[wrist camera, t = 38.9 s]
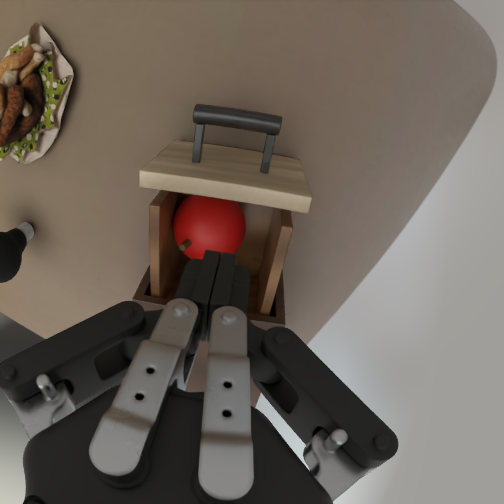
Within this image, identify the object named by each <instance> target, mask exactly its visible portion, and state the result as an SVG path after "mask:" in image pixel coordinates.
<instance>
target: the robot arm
mask: <svg viewBox="0 0 504 504" xmlns="http://www.w3.org/2000/svg"><path fill="white" fill-rule="evenodd" d="M236 260H237V254H232V253H225V252H222V254H221V252H219V251H212V250H205V253H204V256H203V259H202V260H201V259H195V258H193V259H192V260H190V261H189V262H188V263H187V264H186V266H185V269H184V272H183V274H182V277H181V279H180V282H179V285H178V287H177V290H176V293H175V296H174V298H173V300H171V301H169V302H168V303H167V304H166V305H165V307H164V308H163V309H160V310H153V311H144V308H143V307H142V306H141V305H140V304H139V303H136V302H133V301H124V302H121V303H118V304H116V305H114V306H112V307H110V308H108V309H106V310H104V311H102V312H100V313H98V314H96V315H94V316H92V317H90V318H88V319H86V320H84V321H82V322H80V323H78V324H76V325H74V326H72V327H70V328H68V329H66V330H64V331H62V332H60V333H58V334H56V335H54V336H52V337H50V338H48V339H46V340H44V341H42V342H40V343H38V344H36V345H34V346H32V347H30V348H28V349H26V350H24V351H22V352H20V353H18V354H16V355H14V356H12V357H10V358H8V359H6V360H4V361H3V362H1V363H0V388H1V389H2V391H3V392H4V393H5V396H6V397H7V398H8V400H9V401H10V402H11V403H12V405H13V406H14V408H15V410H16V412H17V414H18V416H19V419H20V421H21V423H22V425H23V427H24V429H25V431H26V433H27V435H28V437H29V439H30V441H29V442H28V444H27V446H26V448H25V451H24V455H23V467H24V473H25V480H26V494H25V500H24V502H23V504H333V501H334V500H335V499H336V498H338V497H339V496H340V495H341V494H342V493H344V492H345V491H346V490H347V489H349V488H350V487H351V486H352V485H353V484H354V483H355V482H357V481H358V480H359V479H360V478H362V477H363V476H365V475H367V474H368V473H370V472H371V471H373V470H374V469H375V468H377V467H379V466H380V465H381V464H383V463H384V462H385V461H387V460H389V459H390V458H391V457H393V456H394V455H395V453H396V452H397V449H398V439H397V437H396V435H395V433H394V432H393V431H392V430H391V429H390V428H389V427H388V426H387V425H386V424H385V423H384V422H383V421H382V420H381V419H380V418H379V417H378V416H376V415H375V413H374V412H372V411H371V410H370V409H369V408H368V407H367V406H366V405H365V404H364V403H363V402H362V401H361V400H360V399H359V398H358V397H357V396H356V395H355V394H354V393H353V392H352V391H351V390H350V389H349V388H348V387H347V386H346V385H345V384H344V383H343V382H342V381H341V380H340V379H339V378H338V377H337V376H336V375H335V374H334V373H333V372H332V371H331V370H330V369H329V368H328V367H327V366H326V365H325V364H324V363H323V362H322V361H321V360H320V359H319V358H318V357H317V356H316V355H315V354H314V353H313V352H312V350H310V348H308V346H307V345H306V344H305V343H304V342H303V341H302V340H301V339H300V338H299V337H298V336H297V335H296V334H295V333H294V332H293V331H291V330H290V329H288V328H285V327H279V326H278V327H272V328H269V329H268V330H267V331H266V330H264V329H261V328H259V327H257V326H255V325H254V324H253V323H252V322H251V321H250V320H249V319H248V316H247V304H248V294H249V284H250V272H249V270H248V268H247V267H246V266H240V265H236ZM207 331H208V333H207ZM206 336H207V342H209V350H208V359H207V370H206V381H205V392H186V391H185V390H186V386H187V383H188V380H189V377H190V374H191V370H192V367H193V364H194V361H195V358H196V355H197V350H198V347H199V342H200V341H205V340H206ZM123 377H124V379H123V381H122V383H121V385H118V386H115V387H113V388H111V389H109V390H107V391H106V392H104V393H103V394H101V395H99V396H98V397H96V398H95V399H93V400H92V401H90V402H88V403H87V404H85V405H83V406H82V407H80V408H79V409H77V410H75V405H76V404H78V403H80V402H82V401H83V400H85V399H87V398H89V397H91V396H92V395H94V394H96V393H98V392H99V391H101V390H103V389H104V388H106V387H108V386H110V385H111V384H113V383H115V382H116V381H118V380H120V379H121V378H123ZM250 377H251V378H252V379H253V382H254V384H255V385H256V387H257V388H258V389H259V390H260V392H261V393H262V394H263V395H264V396H265V398H266V399H267V400H268V401H269V402H270V404H271V405H272V406H273V407H274V408H275V410H276V411H277V412H278V413H279V414H280V415H281V417H282V418H283V419H284V420H285V421H286V423H287V424H288V425H289V426H290V427H291V428H292V430H293V431H294V432H295V433H296V434H297V435H298V436H299V438H300V439H301V440H302V441H303V442H304V443H305V444H306V447H305V448H304V452H303V457H304V460H305V462H306V464H307V465H308V467H309V469H310V471H309V470H308V469H307V468H306V466H305V465H304V464H303V463H302V461H301V460H300V459H299V458H298V457H297V455H296V454H295V453H294V452H293V450H292V449H291V448H290V447H289V445H288V444H287V443H286V442H285V440H284V439H283V438H282V436H281V435H280V434H279V432H278V431H277V430H276V429H275V427H274V426H273V425H272V423H271V422H270V421H269V420H268V419H267V417H266V416H265V415H264V414H263V413H261V412H260V411H259V410H257V409H256V408H254V407H253V406H251V405H250Z"/></svg>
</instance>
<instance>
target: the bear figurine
mask: <svg viewBox="0 0 504 504" xmlns="http://www.w3.org/2000/svg"><path fill="white" fill-rule="evenodd" d="M73 76H74V74H73V70H72V67H71V66H70V64H69V63H68V62H67V61H66V59H65V58H64V57H63V55H62V54H61V53H60V51H59V49H58V48H57V46H56V45H55V43H54V42H53V40H52V39H51V38H50V36H49V35H48V34H47V32H46V31H45V29H44V28H43V27H42V25H40V24H39V22H37V23H34V24H33V25H32V26H31V27H30V29H29V34H28V35H26V36H25V37H24V38H22V39H21V40H19V41H18V42H17V43H15V44H14V45H12V46H11V47H10V48H9V50H8V51H7V53H6V55H5V56H4V58H3V60H2V61H1V63H0V162H1V160H3V159H4V158H5V157H6V156H7V155H9V156H11V157H13V158H15V159H16V161H18V163H21V162H22V163H24V164H28V163H31V162H33V161H35V160H36V159H38V158H40V157H42V156H43V155H44V154H45V153H46V151H47V150H48V149H49V147H50V146H51V145H52V144H53V141H54V139H55V138H56V137H57V135H58V132H59V131H58V130H59V129H60V122H61V117H62V114H63V110H64V107H65V104H66V101H67V98H68V94H69V90H70V86H71V83H72V79H73ZM56 139H57V138H56Z"/></svg>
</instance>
